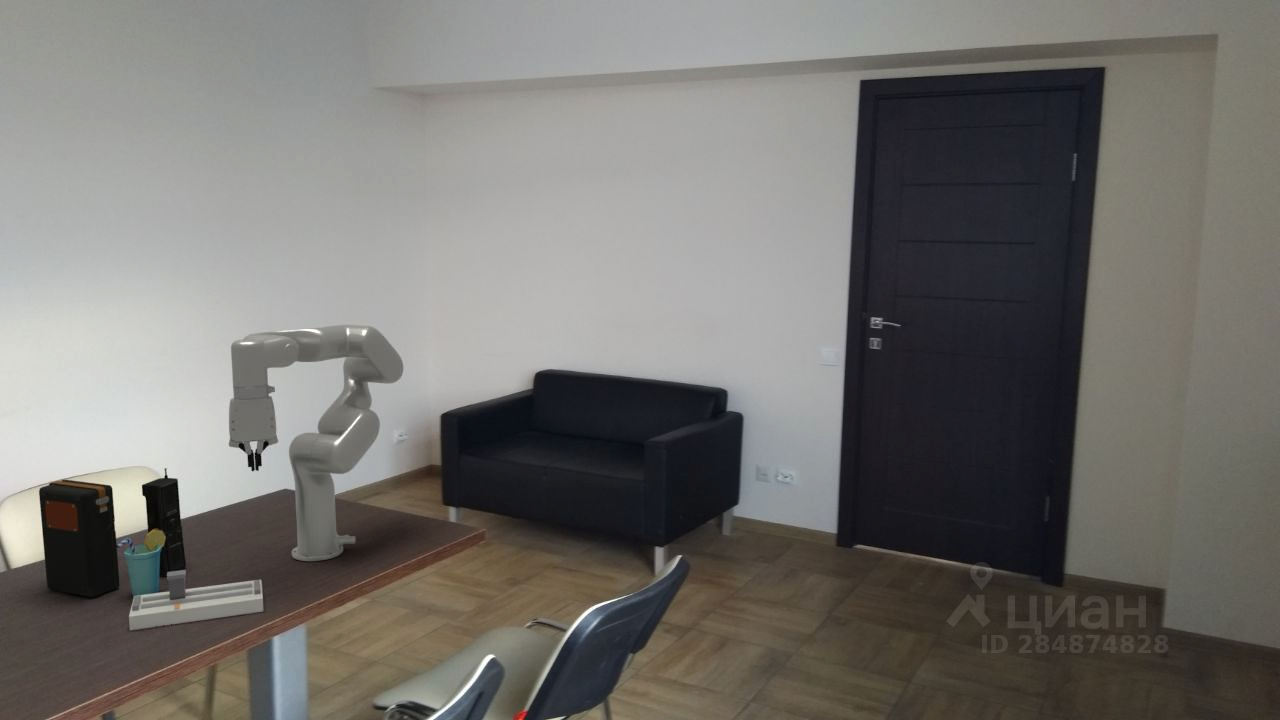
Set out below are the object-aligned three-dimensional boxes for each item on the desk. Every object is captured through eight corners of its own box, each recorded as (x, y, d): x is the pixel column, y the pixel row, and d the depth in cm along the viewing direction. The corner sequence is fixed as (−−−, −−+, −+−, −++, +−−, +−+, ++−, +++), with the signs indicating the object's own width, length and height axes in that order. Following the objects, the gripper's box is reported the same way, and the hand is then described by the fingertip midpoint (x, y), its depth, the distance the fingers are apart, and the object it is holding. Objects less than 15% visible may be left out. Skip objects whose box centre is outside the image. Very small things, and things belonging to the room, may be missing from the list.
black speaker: (125, 587, 222) (117, 483, 218) (93, 601, 214) (84, 493, 210) (74, 578, 227) (66, 476, 223) (41, 591, 219) (32, 486, 215)
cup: (137, 608, 210) (133, 543, 207) (106, 606, 211) (101, 541, 209) (178, 585, 223) (174, 523, 221) (148, 582, 224) (143, 521, 222)
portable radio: (166, 579, 227) (159, 477, 223) (144, 577, 228) (137, 475, 224) (188, 567, 235) (181, 469, 231) (166, 565, 236) (160, 467, 232)
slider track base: (261, 591, 219) (261, 575, 219) (263, 611, 209) (262, 594, 208) (135, 608, 209) (133, 591, 209) (129, 630, 198) (128, 612, 198)
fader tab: (187, 595, 209) (185, 569, 208) (186, 599, 206) (185, 574, 205) (169, 597, 207) (167, 572, 207) (168, 602, 205) (166, 576, 204)
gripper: (284, 388, 226) (288, 463, 229) (216, 392, 221) (220, 468, 223) (286, 393, 220) (289, 470, 222) (215, 397, 214) (220, 476, 216)
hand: (255, 469), depth 223 cm, fingers closed
